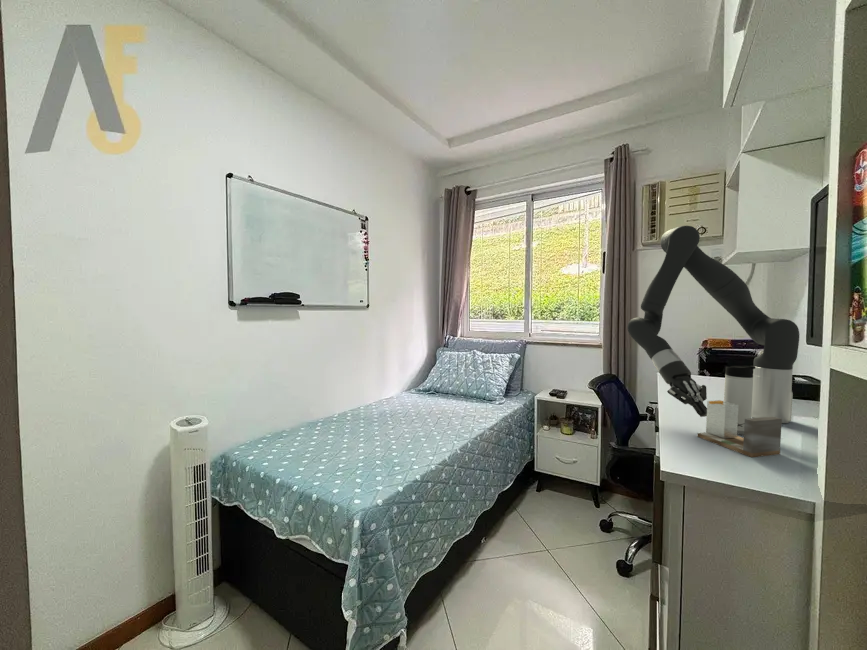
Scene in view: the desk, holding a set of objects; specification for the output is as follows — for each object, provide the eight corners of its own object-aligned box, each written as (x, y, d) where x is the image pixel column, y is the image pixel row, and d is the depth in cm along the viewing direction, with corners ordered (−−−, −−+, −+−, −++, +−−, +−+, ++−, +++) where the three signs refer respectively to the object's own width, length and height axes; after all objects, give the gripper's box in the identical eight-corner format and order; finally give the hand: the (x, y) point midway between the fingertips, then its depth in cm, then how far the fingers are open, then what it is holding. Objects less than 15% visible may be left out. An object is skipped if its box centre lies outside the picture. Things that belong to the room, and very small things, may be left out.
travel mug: (745, 437, 99) (749, 367, 98) (718, 429, 105) (721, 363, 104) (756, 433, 102) (759, 365, 101) (728, 426, 108) (731, 362, 107)
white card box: (700, 432, 99) (701, 399, 98) (718, 431, 100) (719, 398, 100) (718, 439, 94) (719, 404, 93) (736, 437, 95) (738, 402, 95)
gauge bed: (697, 436, 99) (698, 405, 99) (722, 434, 101) (724, 403, 101) (751, 457, 86) (753, 421, 85) (779, 454, 88) (781, 418, 87)
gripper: (660, 360, 109) (695, 410, 97) (695, 359, 112) (733, 407, 100) (646, 373, 114) (678, 422, 103) (679, 372, 117) (714, 420, 106)
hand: (705, 415), depth 102 cm, fingers closed
